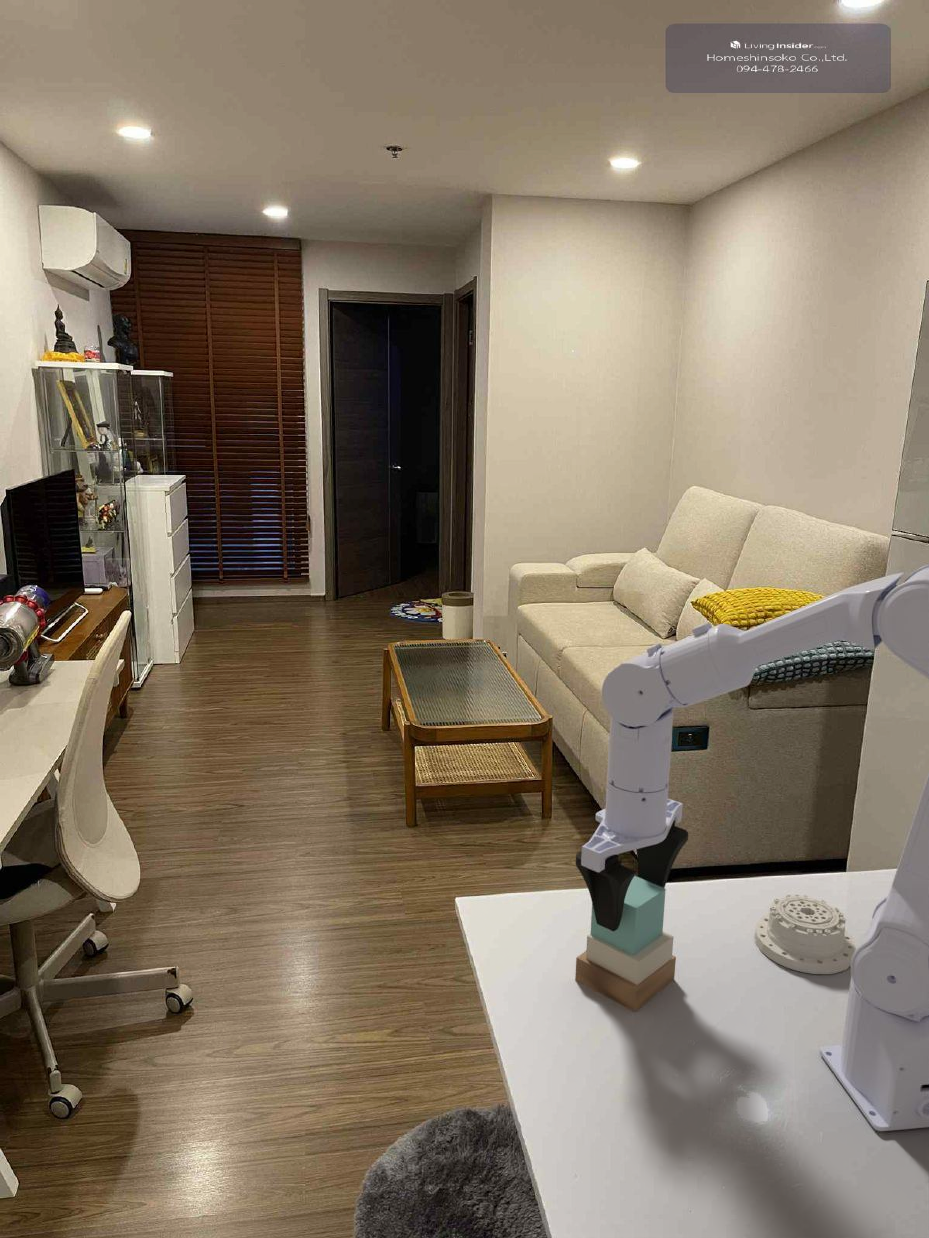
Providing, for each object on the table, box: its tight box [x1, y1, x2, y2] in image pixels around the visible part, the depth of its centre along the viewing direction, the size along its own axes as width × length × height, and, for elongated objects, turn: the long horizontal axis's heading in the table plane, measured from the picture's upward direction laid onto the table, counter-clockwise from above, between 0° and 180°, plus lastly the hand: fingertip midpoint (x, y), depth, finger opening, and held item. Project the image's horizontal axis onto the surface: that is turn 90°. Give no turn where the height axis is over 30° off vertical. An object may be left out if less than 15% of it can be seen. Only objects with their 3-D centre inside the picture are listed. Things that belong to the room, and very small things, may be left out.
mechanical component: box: [754, 893, 857, 975], centre depth 98 cm, size 10×4×10 cm
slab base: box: [574, 950, 677, 1013], centre depth 93 cm, size 7×7×3 cm
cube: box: [590, 875, 667, 956], centre depth 91 cm, size 5×5×5 cm
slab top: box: [585, 931, 674, 985], centre depth 92 cm, size 6×6×2 cm
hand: (629, 910), depth 91 cm, fingers open, 7 cm apart
